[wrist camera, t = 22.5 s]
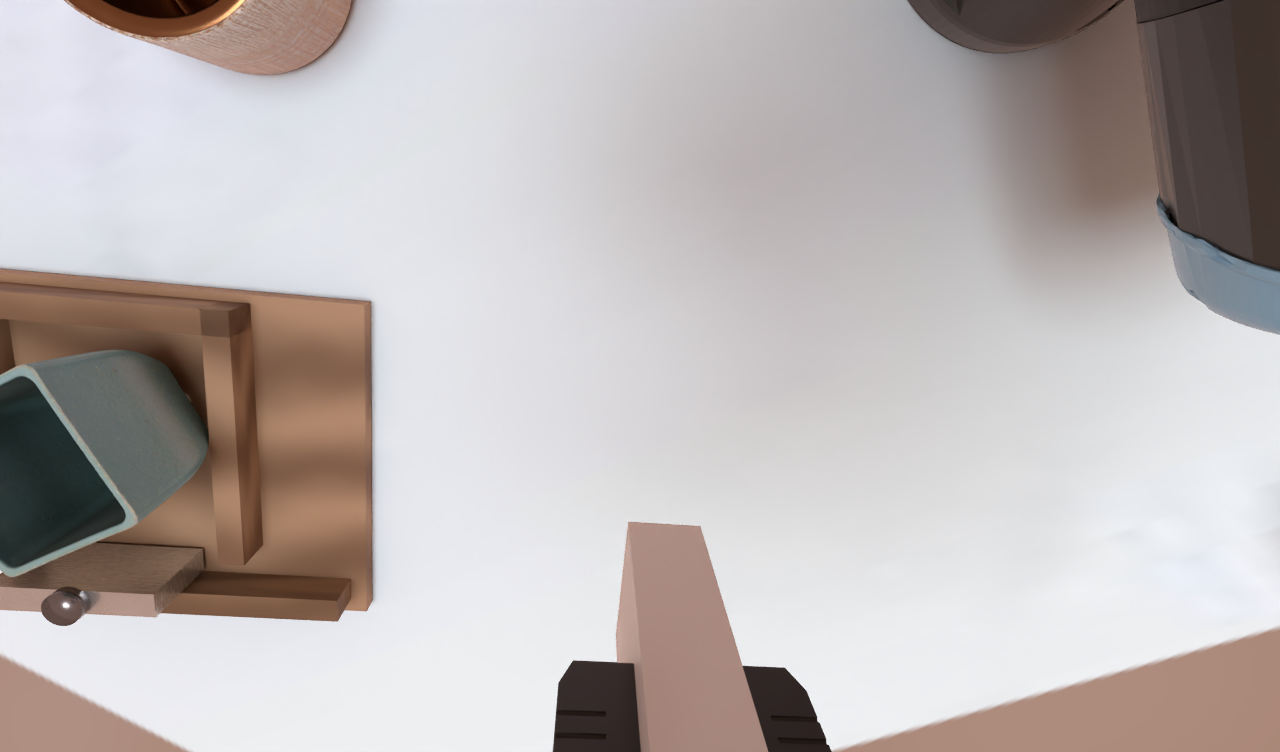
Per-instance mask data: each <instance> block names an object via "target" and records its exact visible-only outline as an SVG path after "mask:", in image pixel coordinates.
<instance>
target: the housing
mask: <svg viewBox="0 0 1280 752" xmlns="http://www.w3.org/2000/svg"><path fill="white" fill-rule="evenodd" d="M103 350H128V351H134V352H138V353H142V354H145V355H148V356H150V357H153V358H155V359H157V360H159V361H161V362H163V363H164V364H165V365H166V366H167V367H168V368H169V370H170V371H171V373H172V374H173V376H174V378H175V379H176V381H177V382H178V384H179V385H180V387H181V389H182V390H183V392H184V393H185V395H186V396H187V398H188V399H189V401H190V402H191V404H192V405H193V407H194V408H195V410H196V411H197V413H198V414H199V416H200V417H201V419H202V420H203V422H204V423H205V425H206V426H207V428H208V431H209V443H208V449H207V453H206V456H205V458H204V461H203V463H202V464H201V466H200V468H199V469H198V471H197V472H196V473H195V474H194V476H193V477H192V478H191V479H190V480H189V481H188V482H186V483H185V484H184V485H183V486H182V487H181V488H180V489H179V490H177V491H176V492H175V493H174V494H173V495H172V496H170V497H169V498H168V499H167V500H166V501H164V502H163V503H162V504H161V505H160V506H159V507H157V508H156V509H155V510H154V511H152V512H151V513H150V514H149V515H148V516H146V517H145V518H144V519H143V520H141V521H140V522H139V523H138V524H136V525H135V526H133V527H131V528H130V529H127V530H125V531H122V532H120V533H116V534H114V535H111V536H109V537H106V538H104V539H102V540H99V541H97V542H95V543H107V544H125V545H143V546H161V547H178V548H196V549H203V560H204V570H203V571H202V572H201V573H200V574H199V575H198V576H197V577H196V578H195V579H194V580H193V581H192V582H191V583H190V584H189V585H188V586H187V587H186V588H185V589H184V590H183V591H182V592H181V593H180V594H179V595H178V596H177V597H176V598H175V599H174V600H173V601H172V602H171V603H170V604H169V605H168V606H167V607H166V608H165V609H164V610H163V611H162V612H161V613H171V614H192V615H212V616H233V617H254V618H275V619H296V620H317V621H338V620H339V618H340V617H341V615H342V613H343V611H344V610H352V611H367V610H368V608H369V606H370V604H371V602H372V434H371V302H369V301H358V300H347V299H335V298H324V297H313V296H302V295H290V294H279V293H268V292H257V291H245V290H234V289H223V288H211V287H200V286H189V285H178V284H166V283H155V282H144V281H132V280H121V279H110V278H99V277H87V276H76V275H65V274H53V273H42V272H31V271H20V270H8V269H0V375H1V374H3V373H5V372H7V371H9V370H10V369H12V368H14V367H17V366H19V365H22V364H28V363H34V362H39V361H44V360H50V359H55V358H61V357H66V356H72V355H77V354H83V353H89V352H95V351H103ZM1 574H3V573H1ZM1 574H0V575H1Z"/></svg>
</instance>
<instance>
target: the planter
mask: <svg viewBox="0 0 1280 752" xmlns="http://www.w3.org/2000/svg"><path fill="white" fill-rule="evenodd" d="M64 1H65V2H67V3H68V4H69V5H70V6H71V7H73V8H74V9H76V10H77V11H78V12H80V13H81V14H83V15H84V16H86V17H88V18H89V19H91V20H92V21H94V22H96V23H98V24H100V25H102V26H104V27H106V28H108V29H111V30H113V31H115V32H118V33H121V34H123V35H126V36H129V37H132V38H136V39H139V40H142V41H145V42H148V43H151V44H154V45H158V46H161V47H164V48H167V49H170V50H173V51H176V52H179V53H182V54H185V55H187V56H190V57H193V58H196V59H199V60H202V61H205V62H208V63H211V64H214V65H217V66H220V67H223V68H226V69H229V70H233V71H236V72H241V73H247V74H260V75H266V74H280V73H285V72H289V71H292V70H295V69H298V68H300V67H303V66H305V65H307V64H309V63H310V62H312V61H313V60H315V59H316V58H318V57H319V56H320V55H321V54H323V53H324V52H325V51H326V50H327V49H328V48H329V47H330V46H331V44H332V43H333V42H334V41H335V39H336V38H337V36H338V35H339V33H340V31H341V30H342V28H343V26H344V24H345V21H346V19H347V17H348V14H349V10H350V7H351V2H352V0H64Z"/></svg>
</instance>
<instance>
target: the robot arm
mask: <svg viewBox="0 0 1280 752" xmlns="http://www.w3.org/2000/svg"><path fill="white" fill-rule="evenodd" d="M909 1H910V3H911V4H912V6H913V7H914V8H915V10H916V11H917V12H918V13H919V15H920V16H921V17H922V18H923V19H924V20H925V21H926V22H927V23H928V24H929V25H930V26H931V27H932V28H934V29H935V30H936V31H937V32H939V33H940V34H942V35H943V36H945V37H946V38H948V39H950V40H951V41H953V42H955V43H958V44H960V45H962V46H965V47H968V48H971V49H975V50H978V51H984V52H992V53H1011V52H1019V51H1025V50H1029V49H1033V48H1037V47H1040V46H1043V45H1046V44H1050V43H1053V42H1056V41H1059V40H1062V39H1065V38H1067V37H1070V36H1072V35H1074V34H1076V33H1078V32H1080V31H1082V30H1084V29H1086V28H1088V27H1089V26H1091V25H1093V24H1094V23H1096V22H1098V21H1099V20H1100V19H1102V18H1103V17H1105V16H1106V15H1107V14H1109V13H1110V12H1111V11H1112V10H1114V9H1115V8H1116V7H1117V6H1118V5H1119V4H1121V3H1122V2H1123V1H1124V0H909ZM1134 2H1135V9H1136V16H1137V26H1138V34H1139V41H1140V49H1141V56H1142V64H1143V71H1144V79H1145V87H1146V94H1147V102H1148V109H1149V117H1150V124H1151V132H1152V140H1153V147H1154V155H1155V162H1156V170H1157V178H1158V185H1159V196H1158V198H1157V201H1156V204H1157V211H1158V215H1159V217H1160V219H1161V221H1162V223H1163V224H1164V225H1165V227H1166V228H1167V230H1168V235H1169V240H1170V245H1171V250H1172V255H1173V259H1174V264H1175V269H1176V272H1177V275H1178V277H1179V280H1180V281H1181V283H1182V285H1183V286H1184V288H1185V289H1186V290H1187V292H1188V293H1189V294H1191V295H1192V296H1193V297H1195V298H1196V299H1198V300H1199V301H1201V302H1202V303H1204V304H1205V305H1206V306H1207V307H1208V308H1209V309H1210V310H1212V311H1213V312H1215V313H1217V314H1219V315H1221V316H1223V317H1225V318H1228V319H1230V320H1232V321H1235V322H1237V323H1240V324H1243V325H1246V326H1249V327H1252V328H1256V329H1259V330H1263V331H1267V332H1271V333H1275V334H1280V0H1134ZM616 648H617V662H594V661H573V662H572V663H571V665H570V666H569V668H568V669H567V671H566V672H565V674H564V675H563V677H562V678H561V680H560V681H559V684H558V696H557V708H556V720H555V732H554V744H553V752H831V750H830V747H829V745H827V744H826V737H825V735H824V733H823V730H822V728H821V725H820V723H819V722H817V716H816V713H815V711H814V708H813V706H812V704H811V701H810V699H809V696H808V694H807V691H806V690H805V689H804V688H803V687H802V686H801V685H800V684H799V682H798V681H797V680H796V679H795V678H794V677H793V676H792V675H791V674H790V673H789V672H788V671H787V670H786V668H777V667H755V666H742V663H741V660H740V656H739V653H738V650H737V646H736V643H735V640H734V636H733V633H732V630H731V627H730V623H729V620H728V617H727V613H726V610H725V607H724V603H723V600H722V597H721V593H720V590H719V587H718V584H717V580H716V577H715V574H714V570H713V567H712V564H711V560H710V557H709V554H708V550H707V547H706V544H705V541H704V537H703V534H702V531H701V527H700V526H688V525H672V524H656V523H640V522H628V529H627V538H626V548H625V557H624V566H623V575H622V584H621V594H620V603H619V612H618V621H617V630H616Z"/></svg>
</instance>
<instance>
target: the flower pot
mask: <svg viewBox="0 0 1280 752" xmlns="http://www.w3.org/2000/svg"><path fill="white" fill-rule="evenodd" d="M208 443H209V431H208V428H207V426H206V425H205V423H204V422H203V420H202V419H201V417H200V416H199V414H198V413H197V411H196V410H195V408H194V407H193V405H192V404H191V402H190V401H189V399H188V398H187V396H186V395H185V393H184V392H183V390H182V389H181V387H180V385H179V384H178V382H177V381H176V379H175V378H174V376H173V374H172V373H171V371H170V370H169V368H168V367H167V366H166V365H165V364H164V363H163V362H161V361H159V360H157V359H155V358H153V357H150V356H148V355H145V354H142V353H138V352H134V351H128V350H103V351H95V352H89V353H83V354H77V355H72V356H66V357H61V358H55V359H50V360H44V361H39V362H34V363H28V364H22V365H19V366H17V367H14V368H12V369H10V370H9V371H7V372H5V373H3V374H1V375H0V570H1V571H2V572H3V573H4V574H5V575H7V576H9V577H16V576H19V575H21V574H24V573H26V572H28V571H30V570H32V569H35V568H37V567H39V566H41V565H44V564H46V563H48V562H50V561H52V560H55V559H57V558H59V557H62V556H64V555H66V554H68V553H71V552H73V551H76V550H78V549H80V548H82V547H85V546H87V545H90V544H92V543H95V542H97V541H99V540H102V539H104V538H106V537H109V536H111V535H114V534H116V533H120V532H122V531H125V530H127V529H130V528H131V527H133V526H135V525H136V524H138V523H139V522H140V521H141V520H143V519H144V518H145V517H146V516H148V515H149V514H150V513H151V512H152V511H154V510H155V509H156V508H157V507H159V506H160V505H161V504H162V503H163V502H164V501H166V500H167V499H168V498H169V497H170V496H172V495H173V494H174V493H175V492H176V491H177V490H179V489H180V488H181V487H182V486H183V485H184V484H185V483H186V482H188V481H189V480H190V479H191V478H192V477H193V476H194V474H195V473H196V472H197V471H198V469H199V468H200V466H201V464H202V463H203V461H204V458H205V456H206V453H207V449H208Z"/></svg>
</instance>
